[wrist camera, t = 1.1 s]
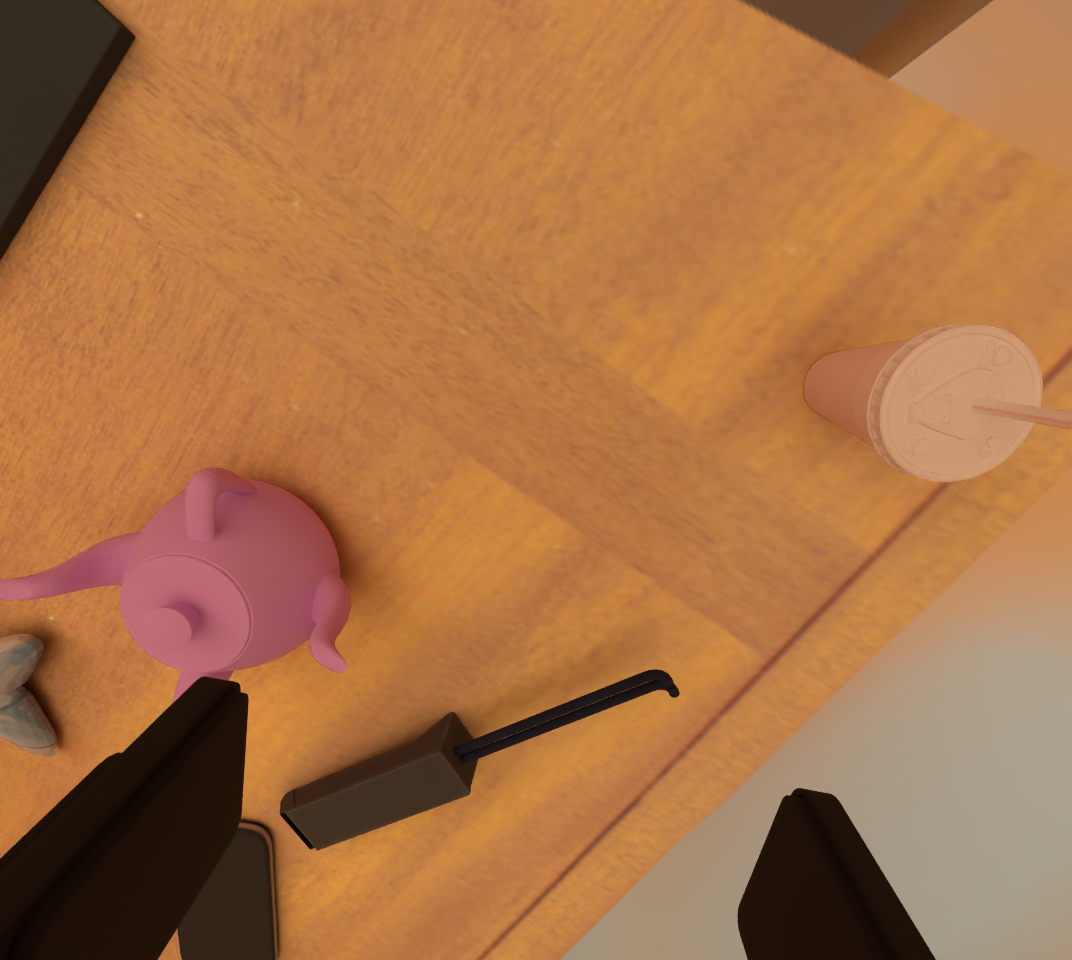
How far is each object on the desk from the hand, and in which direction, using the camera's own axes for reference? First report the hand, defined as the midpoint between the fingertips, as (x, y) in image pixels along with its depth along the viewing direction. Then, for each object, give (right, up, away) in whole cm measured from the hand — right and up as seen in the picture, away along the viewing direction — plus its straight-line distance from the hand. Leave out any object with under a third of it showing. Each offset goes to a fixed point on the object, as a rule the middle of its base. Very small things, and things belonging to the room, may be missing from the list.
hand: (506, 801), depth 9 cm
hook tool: (-4, -12, +29) cm, 31 cm away
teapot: (-17, +1, +25) cm, 31 cm away
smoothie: (+18, +11, +22) cm, 30 cm away
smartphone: (-24, -27, +33) cm, 49 cm away
